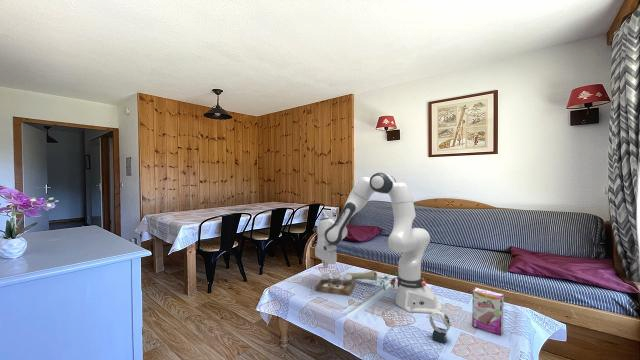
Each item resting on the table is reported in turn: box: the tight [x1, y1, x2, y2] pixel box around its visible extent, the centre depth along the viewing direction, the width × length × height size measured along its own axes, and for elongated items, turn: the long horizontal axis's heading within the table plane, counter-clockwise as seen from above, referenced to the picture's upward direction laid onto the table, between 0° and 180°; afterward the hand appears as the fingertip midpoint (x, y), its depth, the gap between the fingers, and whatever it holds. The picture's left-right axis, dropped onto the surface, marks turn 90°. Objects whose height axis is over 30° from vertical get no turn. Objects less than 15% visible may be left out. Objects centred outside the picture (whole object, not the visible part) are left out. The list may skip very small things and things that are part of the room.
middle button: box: [331, 272, 342, 280], centre depth 169 cm, size 5×5×2 cm
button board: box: [315, 278, 356, 297], centre depth 167 cm, size 20×14×4 cm
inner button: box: [343, 273, 353, 281], centre depth 166 cm, size 5×5×2 cm
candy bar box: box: [471, 287, 505, 336], centre depth 123 cm, size 11×5×16 cm, turn 48°
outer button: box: [320, 273, 330, 280], centre depth 171 cm, size 5×5×2 cm
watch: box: [428, 310, 452, 344], centre depth 116 cm, size 6×8×11 cm
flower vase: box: [345, 270, 398, 291], centre depth 170 cm, size 12×12×35 cm
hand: (325, 267), depth 170 cm, fingers closed
